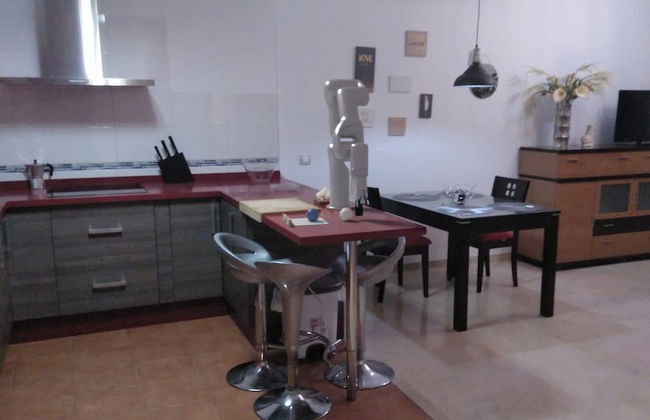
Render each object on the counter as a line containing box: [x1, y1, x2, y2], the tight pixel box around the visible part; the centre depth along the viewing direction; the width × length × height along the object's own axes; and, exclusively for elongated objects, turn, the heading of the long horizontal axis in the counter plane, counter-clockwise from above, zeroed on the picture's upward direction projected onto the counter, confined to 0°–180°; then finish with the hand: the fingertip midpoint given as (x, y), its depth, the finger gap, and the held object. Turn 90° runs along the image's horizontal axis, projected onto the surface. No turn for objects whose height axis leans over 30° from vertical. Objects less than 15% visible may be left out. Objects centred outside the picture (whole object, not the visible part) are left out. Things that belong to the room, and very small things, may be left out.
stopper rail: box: [282, 213, 293, 228], centre depth 220 cm, size 16×1×2 cm, turn 14°
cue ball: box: [339, 208, 354, 222], centre depth 224 cm, size 6×6×6 cm
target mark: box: [290, 216, 330, 227], centre depth 223 cm, size 14×14×1 cm
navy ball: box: [305, 207, 320, 221], centre depth 223 cm, size 6×6×6 cm
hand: (358, 215), depth 228 cm, fingers closed
